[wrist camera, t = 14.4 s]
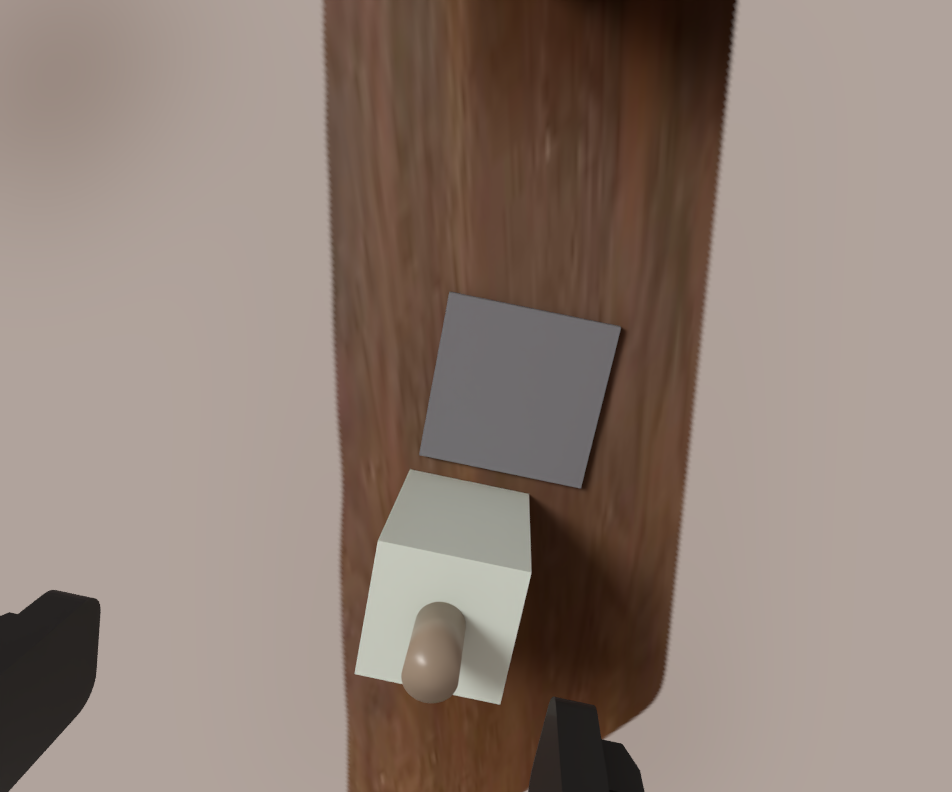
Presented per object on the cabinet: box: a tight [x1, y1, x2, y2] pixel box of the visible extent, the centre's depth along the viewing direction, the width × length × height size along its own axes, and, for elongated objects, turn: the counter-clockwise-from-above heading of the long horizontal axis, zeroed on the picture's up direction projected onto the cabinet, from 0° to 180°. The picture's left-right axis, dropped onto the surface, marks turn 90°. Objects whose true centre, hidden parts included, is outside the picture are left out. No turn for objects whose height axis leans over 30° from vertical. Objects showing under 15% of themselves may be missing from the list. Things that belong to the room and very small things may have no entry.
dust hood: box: [355, 469, 532, 705], centre depth 44 cm, size 9×9×17 cm
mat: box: [419, 292, 621, 488], centre depth 49 cm, size 12×12×1 cm
